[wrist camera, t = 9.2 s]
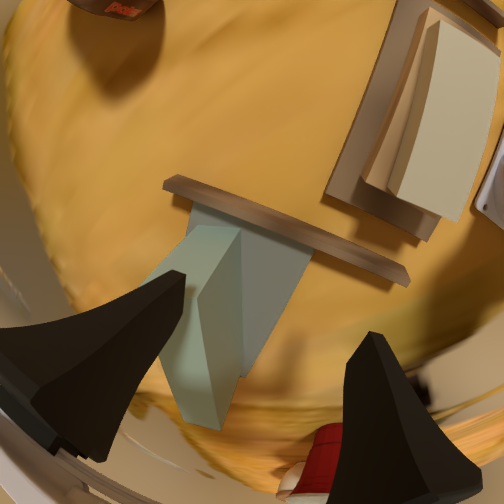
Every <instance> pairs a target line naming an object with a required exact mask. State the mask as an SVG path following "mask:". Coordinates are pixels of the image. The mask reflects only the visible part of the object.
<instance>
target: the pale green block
mask: <svg viewBox="0 0 504 504" xmlns="http://www.w3.org/2000/svg"><path fill="white" fill-rule="evenodd" d="M172 269H173V270H176V271H179V272H181V273H184V274H186V285H185V295H184V307H183V314H182V316H181V318H180V320H179V322H178V324H177V326H176V328H175V330H174V332H173V334H172V335H171V337H170V338H169V340H168V341H167V343H166V344H165V346H164V347H163V349H162V350H161V352H160V353H159V355H158V356H159V358H160V361H161V364H162V367H163V370H164V372H165V375H166V378H167V381H168V383H169V386H170V388H171V391H172V393H173V396H174V398H175V401H176V403H177V406H178V408H179V411H180V413H181V415H182V418H183V420H184V422H188V423H191V424H195V425H198V426H202V427H206V428H210V429H214V430H218V431H221V429H222V426H223V423H224V421H225V418H226V415H227V412H228V409H229V406H230V403H231V400H232V397H233V394H234V391H235V388H236V385H237V382H238V379H239V376H240V373H241V370H242V366H243V363H244V347H243V309H242V262H241V228H230V227H218V226H206V225H197V226H196V227H195V228H194V229H193V230H192V231H191V232H190V233H189V234H188V235H187V236H186V237H185V238H184V239H183V240H182V241H181V242H180V243H179V244H178V245H177V246H176V248H175V249H174V250H173V251H172V252H171V253H170V254H169V255H168V256H167V257H166V258H165V259H164V260H163V261H162V262H161V263H160V264H159V265H158V266H157V268H156V269H155V270H154V271H153V272H152V273H151V274H150V275H149V276H148V277H147V278H146V279H145V281H144V282H143V283H142V284H141V285H140V286H142V285H144V284H146V283H148V282H150V281H151V280H153V279H155V278H157V277H159V276H160V275H162V274H164V273H166V272H168V271H170V270H172ZM140 286H139V287H140ZM139 287H138V288H139Z"/></svg>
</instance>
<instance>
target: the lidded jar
mask: <svg viewBox="0 0 504 504" xmlns="http://www.w3.org/2000/svg"><path fill="white" fill-rule="evenodd" d="M305 464H306V462H299V463H296V464H295V466H293V467H292V468H290V469H289V470H288V471H287V472H286V473H285V474H284V476H283V477H282V479H281V481H280V484H279V487H278V492H277V493H276V498H277V499H278V500H281V501H284V502H286V501H285V498H286V497H287V496H289V495H290V494H291V492H292V491H293V489H294V488H295V487H296V484H297V482H298V481H299V479H300V477H301V474H302V471H303V469H304V466H305Z"/></svg>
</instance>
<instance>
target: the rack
mask: <svg viewBox="0 0 504 504" xmlns="http://www.w3.org/2000/svg"><path fill="white" fill-rule="evenodd" d="M462 1H463V2H464V3H466V4H467V5H469V6H470V7H471V8H473V9H474V10H475V11H477V12H478V13H479V14H481V15H482V16H483V17H485V18H486V19H487V20H488V21H489V22H491V23H492V24H493V25H494V26H495V27H497V28H501V27H504V12H503V11H502V10H501V9H500V8H498V7H497V6H496V5H495V4H494V3H492V2H491V1H490V0H462ZM429 7H431V8H433V9H435V10H436V11H438V12H439V13H441V14H443V15H444V16H446V17H447V18H449V19H450V20H452V21H453V22H455V23H456V24H458V25H459V26H461V27H462V28H463V29H465V30H466V31H467V32H469V33H470V34H471V35H473V36H474V37H475V38H477V39H478V40H479V41H481V42H482V43H483V44H484V45H485V46H487V47H488V48H489V49H490V50H491V51H493V52H494V53H495V54H496V55H497V56H498V57H499V58H500V53H501V51H500V50H499V49H498V48H497V47H496V46H495V45H493V44H492V43H491V42H490V41H489V40H487V39H486V38H485V37H484V36H483V35H481V34H480V33H479V32H477V31H476V30H475V29H474V28H472V27H471V26H470V25H468V24H467V23H465V22H464V21H463V20H461V19H460V18H458V17H457V16H455V15H454V14H453V13H451V12H449V11H448V10H446V9H445V8H443V7H442V6H440V5H438V4H437V3H435V2H433V1H432V0H397V1H396V4H395V7H394V10H393V13H392V16H391V19H390V22H389V25H388V28H387V31H386V34H385V37H384V40H383V43H382V46H381V49H380V52H379V54H378V57H377V60H376V63H375V65H374V68H373V71H372V74H371V76H370V79H369V82H368V84H367V87H366V90H365V92H364V95H363V98H362V100H361V103H360V105H359V108H358V110H357V113H356V116H355V118H354V121H353V123H352V126H351V128H350V131H349V133H348V135H347V138H346V140H345V143H344V145H343V148H342V150H341V153H340V155H339V157H338V160H337V162H336V164H335V167H334V169H333V172H332V174H331V176H330V179H329V181H328V183H327V185H326V188H325V193H326V194H328V195H331V196H333V197H335V198H337V199H340V200H342V201H344V202H346V203H349V204H351V205H353V206H355V207H357V208H359V209H362V210H364V211H366V212H368V213H370V214H372V215H374V216H376V217H378V218H380V219H382V220H385V221H387V222H389V223H391V224H393V225H395V226H397V227H398V228H400V229H402V230H404V231H406V232H408V233H410V234H412V235H414V236H416V237H418V238H419V239H421V240H423V241H425V242H427V241H428V240H429V238H430V236H431V235H432V233H433V231H434V229H435V227H436V226H437V224H438V222H439V220H440V218H441V216H440V215H438V216H437V218H436V219H434V218H432V217H430V216H428V215H427V214H425V213H423V212H422V211H420V210H418V209H416V208H414V207H413V206H411V205H409V204H407V203H405V202H404V201H402V200H400V199H398V198H396V197H394V196H392V195H390V194H388V193H386V192H384V191H383V190H381V189H379V188H377V187H375V186H373V185H370V184H368V183H366V182H365V181H364V179H363V178H362V177H361V175H360V173H361V171H362V169H363V167H364V164H365V162H366V160H367V158H368V155H369V153H370V151H371V148H372V146H373V144H374V141H375V139H376V136H377V134H378V131H379V129H380V127H381V124H382V122H383V119H384V117H385V114H386V111H387V109H388V106H389V104H390V101H391V98H392V96H393V93H394V90H395V88H396V85H397V82H398V80H399V77H400V74H401V71H402V68H403V65H404V62H405V59H406V56H407V53H408V50H409V47H410V44H411V41H412V38H413V35H414V31H415V28H416V25H417V21H418V18H419V15H421V14H422V13H423V12H424V11H425V10H426V9H428V8H429ZM162 189H163V190H166V191H169V192H171V193H174V194H177V195H180V196H182V197H185V198H188V199H190V200H193V201H196V202H198V203H201V204H204V205H206V206H209V207H212V208H214V209H217V210H219V211H222V212H225V213H227V214H230V215H232V216H235V217H238V218H240V219H243V220H245V221H248V222H250V223H253V224H256V225H258V226H261V227H263V228H266V229H268V230H271V231H273V232H276V233H278V234H281V235H283V236H286V237H288V238H291V239H293V240H296V241H298V242H300V243H303V244H305V245H308V246H310V247H313V248H315V249H318V250H320V251H322V252H325V253H327V254H330V255H332V256H334V257H337V258H339V259H342V260H344V261H346V262H349V263H351V264H353V265H356V266H358V267H360V268H363V269H365V270H367V271H370V272H372V273H374V274H377V275H379V276H381V277H383V278H386V279H388V280H390V281H393V282H395V283H397V284H399V285H402V286H404V287H406V288H407V286H408V285H409V283H410V282H411V280H410V277H409V275H408V273H407V271H406V269H405V267H404V266H403V265H400V264H398V263H396V262H394V261H392V260H390V259H388V258H385V257H383V256H381V255H379V254H377V253H375V252H372V251H370V250H368V249H366V248H363V247H361V246H359V245H357V244H354V243H352V242H350V241H348V240H345V239H343V238H341V237H338V236H336V235H334V234H332V233H329V232H327V231H324V230H322V229H320V228H317V227H315V226H313V225H310V224H308V223H305V222H303V221H300V220H298V219H296V218H293V217H291V216H288V215H286V214H283V213H281V212H278V211H276V210H273V209H271V208H268V207H265V206H263V205H260V204H258V203H255V202H253V201H250V200H247V199H245V198H242V197H239V196H237V195H234V194H231V193H229V192H226V191H223V190H221V189H218V188H215V187H212V186H209V185H207V184H204V183H201V182H198V181H195V180H193V179H190V178H187V177H184V176H181V175H178V174H177V175H175V176H173V177H171V178H169V179H167V180H165V181H164V183H163V188H162Z"/></svg>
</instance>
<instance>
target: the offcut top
mask: <svg viewBox="0 0 504 504" xmlns="http://www.w3.org/2000/svg"><path fill="white" fill-rule="evenodd" d="M500 65H501V58H499V57H498V56H497V55H495V54H494V53H493V52H491V51H490V50H489V49H487V48H486V47H484V46H483V45H482V44H480V43H479V42H477V41H476V40H474V39H473V38H471V37H470V36H468V35H466V34H465V33H463V32H462V31H460V30H458V29H457V28H455V27H453V26H452V25H450V24H448V23H446V22H444V21H443V20H441V19H440V20H439V21H437V22H436V23H434V24H433V25H431V26H430V27H429V28H427V33H426V40H425V46H424V52H423V57H422V63H421V68H420V73H419V77H418V82H417V86H416V91H415V95H414V99H413V103H412V107H411V111H410V115H409V118H408V122H407V126H406V129H405V133H404V136H403V139H402V143H401V146H400V149H399V152H398V156H397V159H396V162H395V165H394V168H393V171H392V174H391V177H390V180H389V183H388V185H387V187H388V188H389V189H390V190H391V191H392V193H393V194H394V195H395V196H396V197H398V198H400V199H403V200H405V201H408V202H410V203H413V204H415V205H417V206H420V207H422V208H424V209H427V210H429V211H431V212H433V213H436V214H438V215H440V216H442V217H445V218H447V219H449V220H451V221H453V222H455V223H458V221H459V218H460V216H461V214H462V211H463V209H464V206H465V204H466V202H467V199H468V196H469V194H470V191H471V188H472V186H473V183H474V180H475V177H476V174H477V171H478V168H479V165H480V162H481V159H482V155H483V152H484V148H485V145H486V141H487V137H488V133H489V129H490V125H491V121H492V116H493V111H494V106H495V101H496V95H497V89H498V82H499V74H500Z"/></svg>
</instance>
